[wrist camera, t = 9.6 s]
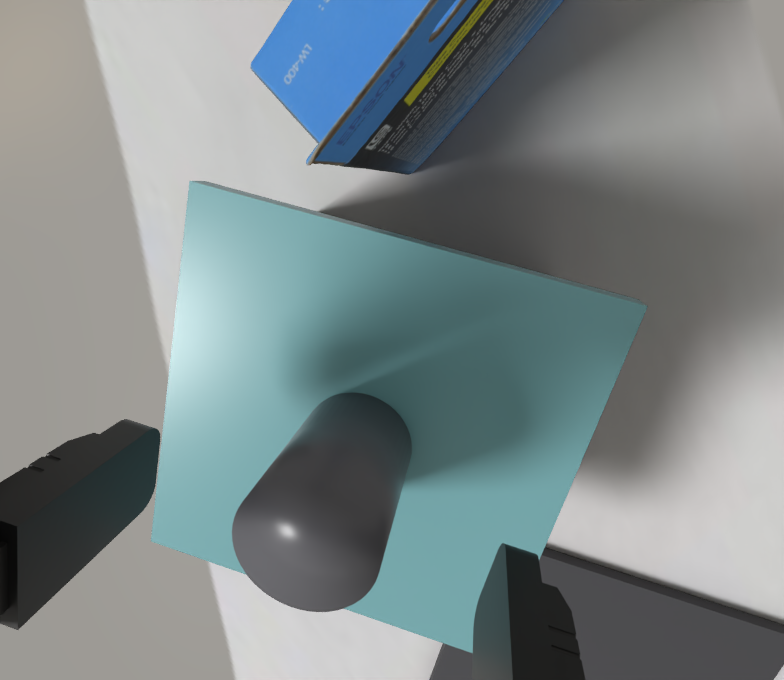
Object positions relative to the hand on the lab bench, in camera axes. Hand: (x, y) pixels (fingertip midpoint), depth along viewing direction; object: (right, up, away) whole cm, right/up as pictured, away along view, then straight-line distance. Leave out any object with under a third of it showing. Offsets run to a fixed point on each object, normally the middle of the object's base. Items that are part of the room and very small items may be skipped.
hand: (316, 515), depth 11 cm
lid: (+1, +1, +4) cm, 4 cm away
